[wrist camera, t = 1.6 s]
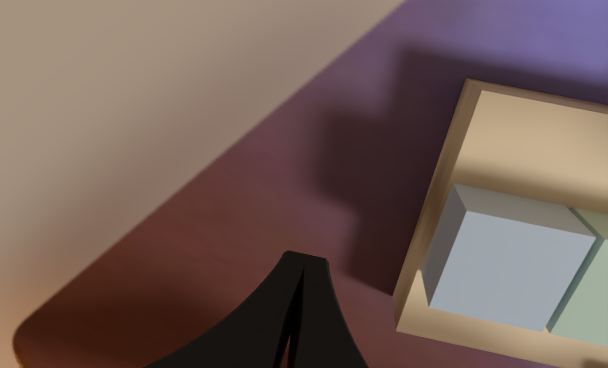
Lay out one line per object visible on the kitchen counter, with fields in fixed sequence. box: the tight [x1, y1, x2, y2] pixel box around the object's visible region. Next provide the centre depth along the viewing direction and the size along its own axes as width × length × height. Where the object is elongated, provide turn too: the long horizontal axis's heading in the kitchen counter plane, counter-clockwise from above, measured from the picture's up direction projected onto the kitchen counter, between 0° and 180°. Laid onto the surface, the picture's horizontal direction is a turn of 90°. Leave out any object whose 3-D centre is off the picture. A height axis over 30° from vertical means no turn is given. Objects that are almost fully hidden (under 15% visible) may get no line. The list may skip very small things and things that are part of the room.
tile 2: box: [421, 183, 596, 332], centre depth 16 cm, size 4×4×2 cm
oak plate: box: [392, 78, 608, 368], centre depth 18 cm, size 12×10×2 cm
